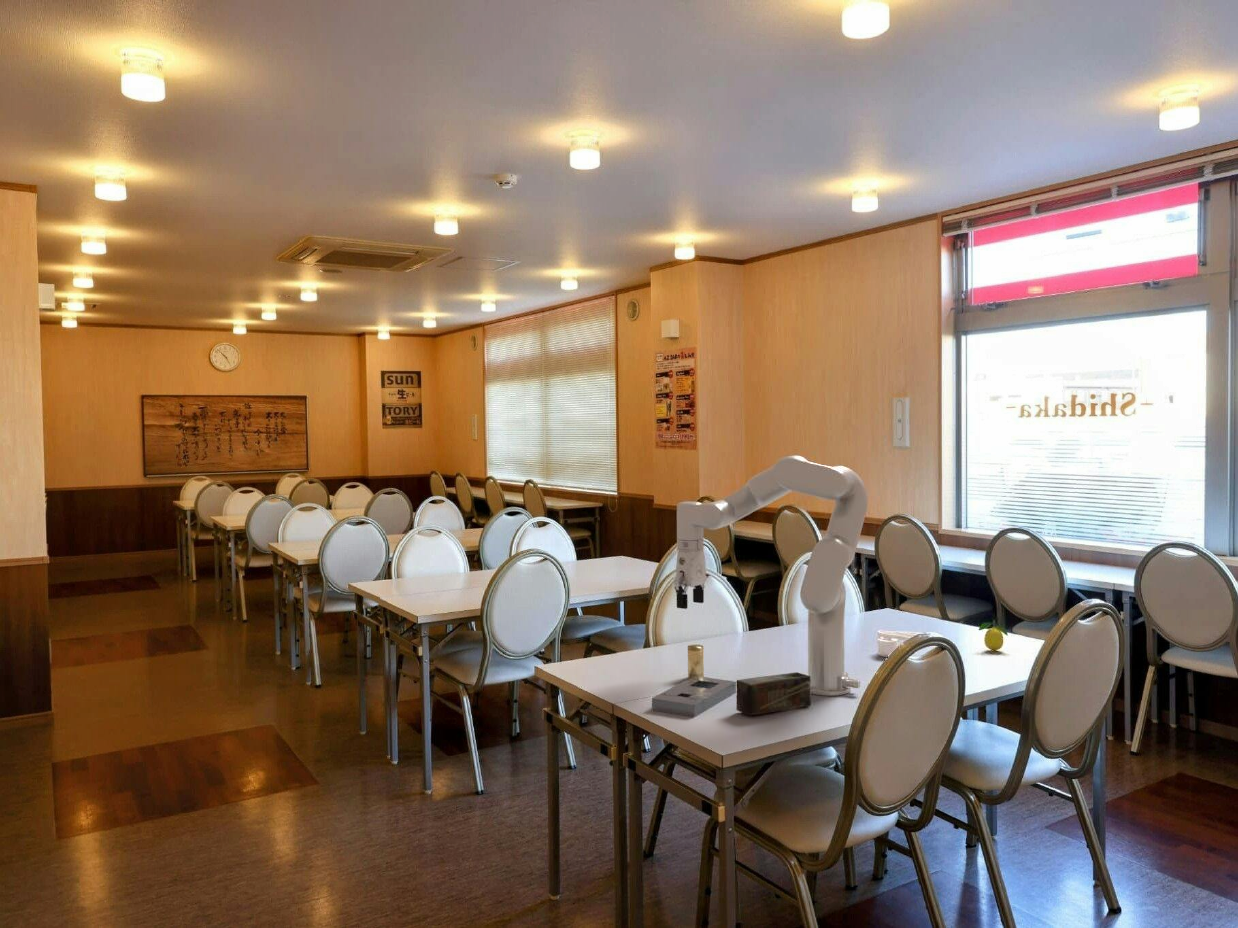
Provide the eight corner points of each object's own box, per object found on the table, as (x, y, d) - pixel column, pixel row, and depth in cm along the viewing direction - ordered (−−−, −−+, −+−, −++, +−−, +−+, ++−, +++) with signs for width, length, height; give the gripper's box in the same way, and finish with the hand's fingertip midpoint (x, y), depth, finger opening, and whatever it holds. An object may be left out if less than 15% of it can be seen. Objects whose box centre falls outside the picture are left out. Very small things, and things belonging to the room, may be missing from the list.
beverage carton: (797, 702, 234) (813, 707, 228) (734, 711, 226) (749, 717, 220) (796, 671, 235) (813, 675, 229) (733, 679, 226) (748, 683, 220)
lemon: (978, 651, 284) (978, 619, 284) (987, 648, 288) (987, 616, 288) (999, 655, 279) (999, 622, 279) (1008, 652, 283) (1008, 620, 283)
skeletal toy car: (869, 657, 280) (869, 633, 279) (887, 650, 288) (887, 627, 287) (932, 668, 266) (931, 643, 265) (948, 661, 274) (948, 636, 273)
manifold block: (735, 692, 243) (735, 681, 243) (694, 717, 223) (694, 704, 223) (695, 686, 250) (695, 675, 249) (651, 709, 229) (651, 698, 229)
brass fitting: (706, 677, 259) (705, 645, 259) (699, 680, 255) (698, 648, 255) (692, 675, 262) (692, 643, 261) (685, 678, 258) (684, 647, 257)
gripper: (687, 549, 250) (687, 611, 250) (715, 542, 264) (715, 601, 265) (663, 547, 254) (663, 609, 255) (692, 541, 268) (693, 599, 269)
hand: (690, 605), depth 260 cm, fingers open, 9 cm apart
